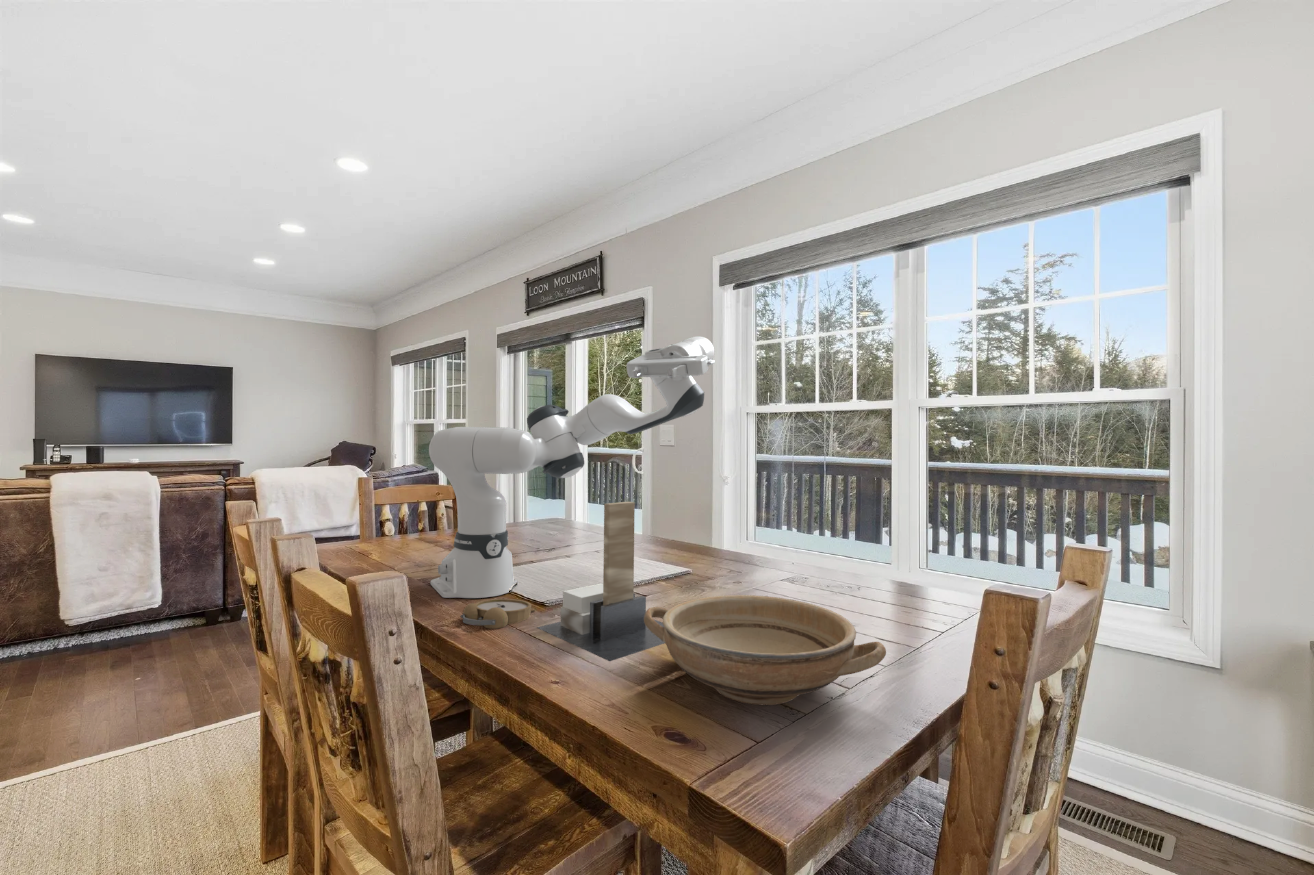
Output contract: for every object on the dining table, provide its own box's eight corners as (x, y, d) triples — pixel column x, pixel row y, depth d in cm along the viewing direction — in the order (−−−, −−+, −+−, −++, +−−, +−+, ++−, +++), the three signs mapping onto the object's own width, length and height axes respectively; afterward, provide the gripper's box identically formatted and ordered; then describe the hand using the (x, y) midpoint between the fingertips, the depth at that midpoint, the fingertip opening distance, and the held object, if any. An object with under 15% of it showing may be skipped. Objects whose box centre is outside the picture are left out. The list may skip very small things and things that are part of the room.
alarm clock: (543, 603, 121) (493, 609, 108) (540, 628, 121) (490, 637, 107) (501, 596, 126) (448, 601, 113) (498, 620, 126) (445, 627, 112)
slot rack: (536, 632, 112) (537, 595, 112) (618, 611, 125) (618, 578, 125) (609, 667, 96) (610, 624, 96) (694, 638, 109) (694, 601, 109)
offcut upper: (562, 606, 113) (563, 591, 113) (603, 597, 120) (604, 582, 120) (581, 614, 109) (581, 597, 109) (622, 603, 116) (623, 588, 116)
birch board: (602, 634, 108) (604, 503, 108) (627, 627, 112) (629, 501, 112) (608, 636, 107) (609, 504, 107) (633, 629, 111) (634, 502, 111)
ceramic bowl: (600, 697, 85) (601, 627, 85) (681, 637, 111) (682, 583, 110) (872, 764, 68) (873, 678, 68) (894, 675, 94) (895, 612, 94)
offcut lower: (560, 625, 113) (560, 607, 113) (609, 613, 121) (609, 596, 121) (582, 634, 108) (582, 615, 108) (631, 621, 116) (632, 603, 116)
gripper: (718, 372, 142) (695, 386, 131) (645, 375, 152) (617, 388, 141) (715, 346, 141) (691, 358, 129) (641, 350, 151) (613, 362, 139)
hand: (652, 374), depth 135 cm, fingers open, 8 cm apart
